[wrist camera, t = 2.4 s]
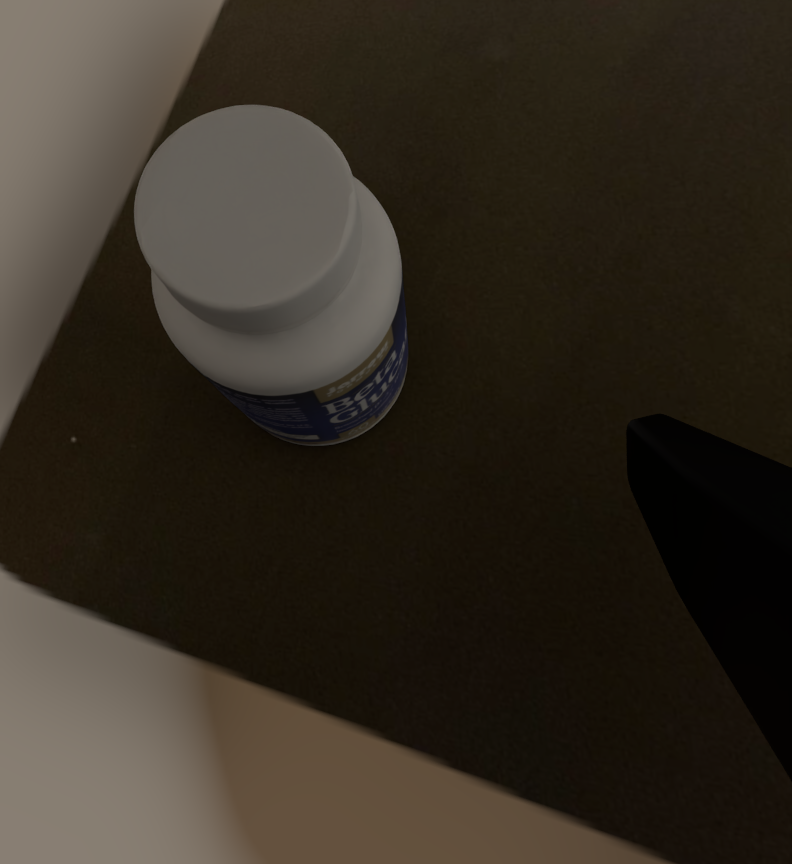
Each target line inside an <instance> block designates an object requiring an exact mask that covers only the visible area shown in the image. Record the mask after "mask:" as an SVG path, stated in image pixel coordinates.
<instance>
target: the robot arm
mask: <svg viewBox="0 0 792 864" xmlns="http://www.w3.org/2000/svg"><path fill="white" fill-rule="evenodd" d="M626 436H627V475H628V481H629V485H630V488H631V491H632V493H633V495H634V498H635V500H636V502H637V504H638V506H639V509H640V511H641V513H642V515H643V518H644V520H645V522H646V524H647V526H648V529H649V531H650V533H651V535H652V537H653V540H654V542H655V544H656V546H657V549H658V551H659V553H660V555H661V557H662V560H663V562H664V564H665V566H666V568H667V571H668V573H669V575H670V577H671V579H672V581H673V583H674V586H675V588H676V590H677V592H678V593H679V595H680V597H681V599H682V601H683V602H684V604H685V606H686V608H687V609H688V611H689V613H690V614H691V616H692V618H693V619H694V621H695V622H696V624H697V626H698V627H699V629H700V631H701V632H702V634H703V636H704V637H705V639H706V641H707V642H708V644H709V646H710V647H711V649H712V651H713V652H714V654H715V655H716V657H717V659H718V660H719V662H720V664H721V665H722V667H723V669H724V670H725V672H726V674H727V675H728V677H729V679H730V680H731V682H732V683H733V685H734V687H735V688H736V690H737V692H738V693H739V695H740V697H741V698H742V700H743V702H744V703H745V705H746V707H747V708H748V710H749V711H750V713H751V715H752V716H753V718H754V720H755V721H756V723H757V725H758V726H759V728H760V730H761V731H762V733H763V735H764V736H765V738H766V740H767V741H768V743H769V744H770V746H771V748H772V749H773V751H774V753H775V754H776V756H777V758H778V759H779V761H780V763H781V764H782V766H783V768H784V769H785V771H786V772H787V774H788V776H789V777H790V779H791V781H792V468H791V467H788V466H786V465H784V464H781V463H779V462H776V461H774V460H772V459H769V458H767V457H764V456H762V455H760V454H757V453H755V452H753V451H750V450H748V449H745V448H743V447H741V446H738V445H736V444H734V443H731V442H729V441H726V440H724V439H722V438H719V437H717V436H714V435H712V434H710V433H707V432H705V431H703V430H700V429H698V428H695V427H693V426H691V425H688V424H686V423H684V422H681V421H679V420H676V419H674V418H672V417H669V416H667V415H664V414H655V415H650V416H646V417H642V418H638V419H634V420H631V421H630V423H629V424H628V426H627V432H626Z"/></svg>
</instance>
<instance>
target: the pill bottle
mask: <svg viewBox="0 0 792 864" xmlns="http://www.w3.org/2000/svg"><path fill="white" fill-rule="evenodd" d="M134 220H135V228H136V235H137V239H138V242H139V245H140V248H141V251H142V253H143V255H144V257H145V259H146V261H147V263H148V264H149V266H150V267H151V269H152V272H151V277H152V290H153V297H154V302H155V306H156V309H157V312H158V315H159V318H160V320H161V322H162V325H163V327H164V329H165V330H166V332H167V334H168V336H169V337H170V339H171V340H172V342H173V343H174V345H175V346H176V347H177V348H178V350H179V351H180V352H181V353H182V354H183V355H184V356H185V358H186V359H187V360H188V361H189V362H190V363H191V364H192V365H193V366H194V367H195V368H196V369H197V370H198V371H199V372H200V373H201V374H202V375H203V376H205V377H206V378H207V379H208V380H209V381H210V382H211V383H212V384H213V385H214V386H215V387H216V388H217V389H218V390H219V391H220V392H221V393H222V394H223V395H224V396H225V397H226V398H228V399H229V400H230V401H231V402H232V403H233V404H234V405H235V406H237V407H238V408H239V409H240V410H241V411H242V412H243V413H244V414H245V415H246V416H247V417H249V418H250V419H251V420H252V421H253V422H254V423H255V424H257V425H258V426H259V427H261V428H262V429H264V430H265V431H267V432H268V433H270V434H272V435H274V436H276V437H278V438H280V439H282V440H285V441H288V442H291V443H295V444H300V445H308V446H324V445H332V444H337V443H341V442H344V441H347V440H350V439H353V438H355V437H357V436H359V435H361V434H363V433H365V432H366V431H368V430H369V429H370V428H372V427H373V426H374V425H376V424H377V423H378V422H379V421H380V420H381V419H382V418H383V417H384V416H385V415H386V414H387V412H388V411H389V410H390V408H391V407H392V406H393V404H394V403H395V401H396V399H397V397H398V395H399V394H400V391H401V389H402V386H403V383H404V380H405V375H406V371H407V363H408V339H407V326H406V313H405V300H404V288H403V273H402V262H401V257H400V251H399V246H398V242H397V238H396V235H395V232H394V229H393V227H392V224H391V222H390V220H389V218H388V216H387V214H386V212H385V211H384V209H383V207H382V206H381V204H380V203H379V202H378V200H377V199H376V198H375V196H374V195H373V194H372V193H371V192H370V191H369V190H368V189H367V188H366V187H365V186H364V185H363V184H362V183H361V182H360V181H359V180H358V179H356V178H355V177H353V176H352V173H351V170H350V167H349V165H348V162H347V161H346V159H345V157H344V155H343V153H342V152H341V150H340V149H339V148H338V146H337V145H336V144H335V143H334V141H333V140H332V139H331V138H330V137H329V136H328V135H327V134H326V133H325V132H324V131H323V130H322V129H320V128H319V127H318V126H316V125H315V124H313V123H312V122H311V121H309V120H307V119H305V118H303V117H302V116H300V115H297V114H295V113H293V112H290V111H287V110H284V109H280V108H276V107H270V106H262V105H237V106H232V107H227V108H223V109H218V110H215V111H212V112H209V113H207V114H204V115H202V116H199V117H197V118H195V119H193V120H192V121H190V122H188V123H187V124H185V125H183V126H181V127H180V128H179V129H178V130H176V131H175V132H174V133H173V134H172V135H170V136H169V137H168V138H167V139H166V140H165V141H164V142H163V143H162V144H161V145H160V147H159V148H158V149H157V150H156V151H155V153H154V154H153V156H152V157H151V159H150V160H149V162H148V164H147V165H146V167H145V169H144V171H143V174H142V176H141V179H140V181H139V184H138V188H137V191H136V197H135V204H134Z"/></svg>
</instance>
